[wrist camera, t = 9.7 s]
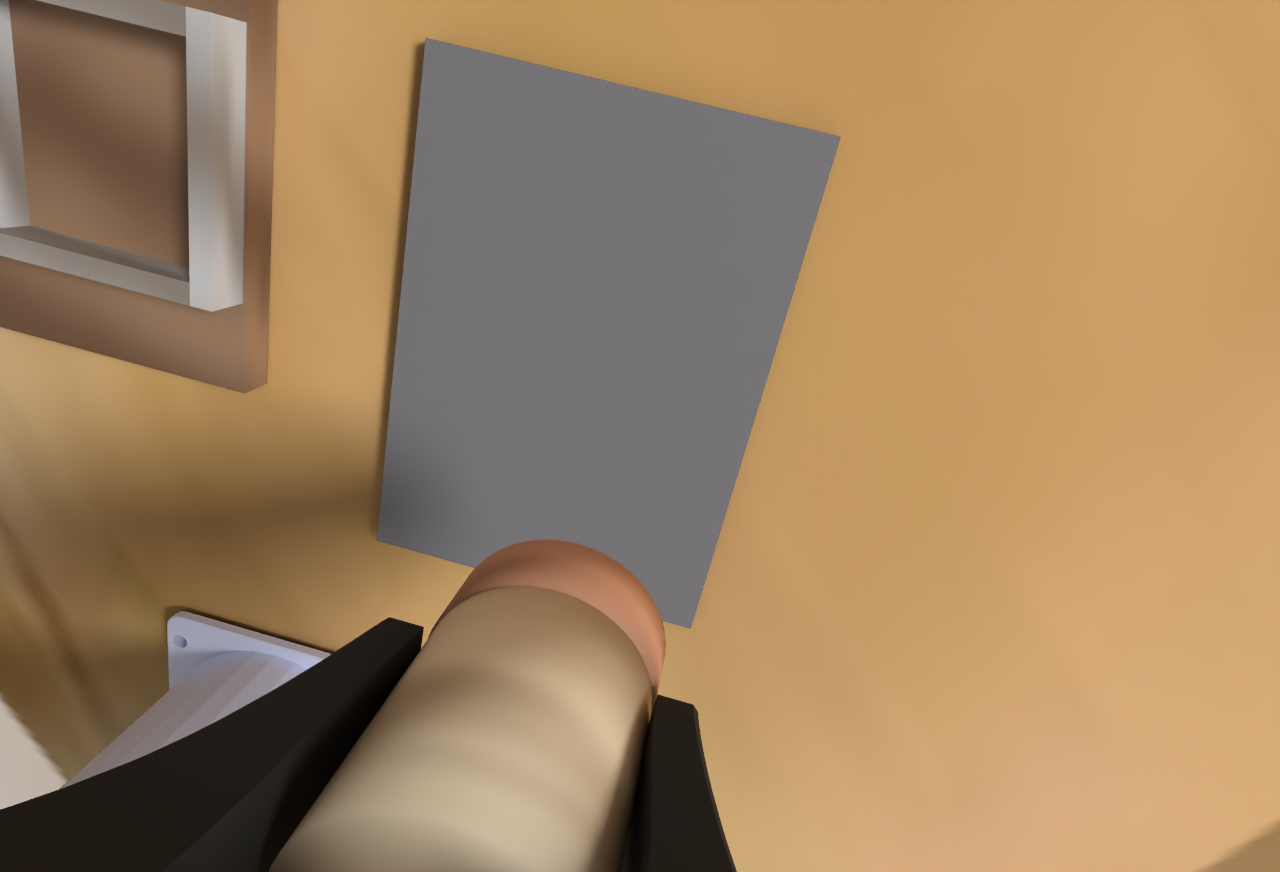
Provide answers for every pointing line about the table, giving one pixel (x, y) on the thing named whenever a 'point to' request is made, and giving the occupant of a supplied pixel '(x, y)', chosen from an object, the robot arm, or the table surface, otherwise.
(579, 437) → the mat
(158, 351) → the brown compartment tray
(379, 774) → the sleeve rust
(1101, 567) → the table surface
